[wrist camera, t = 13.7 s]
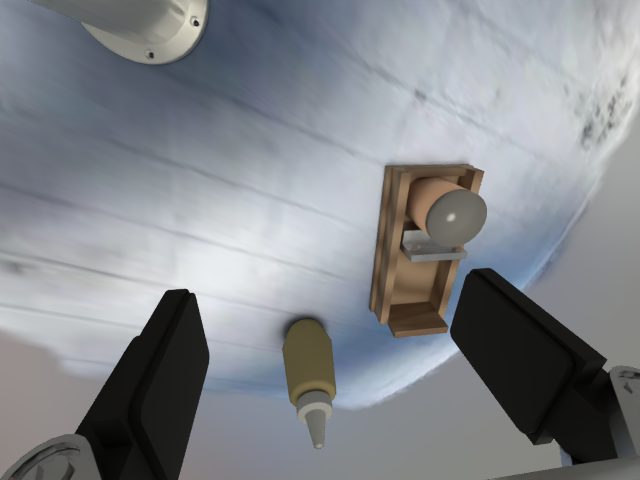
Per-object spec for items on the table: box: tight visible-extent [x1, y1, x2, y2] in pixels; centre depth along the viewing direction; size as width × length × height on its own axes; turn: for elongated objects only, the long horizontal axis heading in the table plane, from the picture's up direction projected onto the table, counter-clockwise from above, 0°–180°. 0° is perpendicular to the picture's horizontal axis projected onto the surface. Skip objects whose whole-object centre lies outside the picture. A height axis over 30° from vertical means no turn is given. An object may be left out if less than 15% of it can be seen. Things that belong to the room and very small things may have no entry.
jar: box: [405, 177, 487, 247], centre depth 35 cm, size 7×7×8 cm
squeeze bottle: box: [282, 319, 336, 449], centre depth 40 cm, size 8×8×18 cm
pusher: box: [400, 223, 467, 262], centre depth 38 cm, size 3×8×6 cm, turn 89°
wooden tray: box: [369, 165, 484, 338], centre depth 40 cm, size 24×12×7 cm, turn 179°
